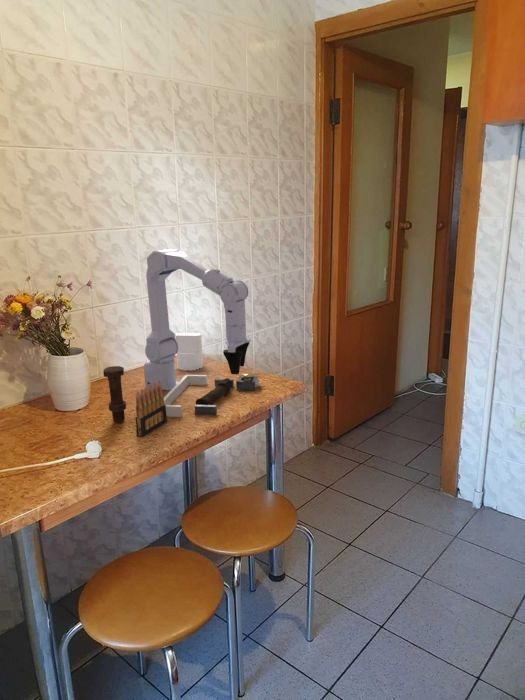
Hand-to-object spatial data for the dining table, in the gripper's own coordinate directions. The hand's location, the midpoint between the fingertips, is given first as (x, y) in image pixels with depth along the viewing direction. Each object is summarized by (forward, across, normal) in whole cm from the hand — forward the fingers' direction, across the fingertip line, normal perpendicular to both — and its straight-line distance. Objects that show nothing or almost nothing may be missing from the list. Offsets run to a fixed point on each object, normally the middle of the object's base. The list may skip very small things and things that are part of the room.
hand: (237, 369), depth 156 cm
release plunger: (+9, +11, -1) cm, 14 cm away
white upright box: (+10, +32, +24) cm, 42 cm away
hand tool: (+10, 0, +7) cm, 12 cm away
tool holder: (+9, +1, +3) cm, 10 cm away
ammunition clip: (+10, -22, +19) cm, 31 cm away
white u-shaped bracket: (+9, 0, +16) cm, 19 cm away
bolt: (+10, -18, +30) cm, 36 cm away
